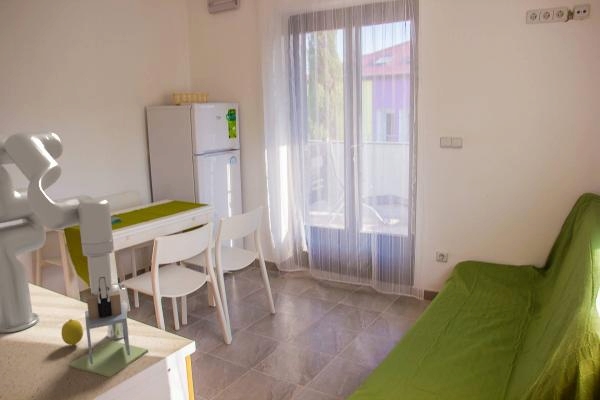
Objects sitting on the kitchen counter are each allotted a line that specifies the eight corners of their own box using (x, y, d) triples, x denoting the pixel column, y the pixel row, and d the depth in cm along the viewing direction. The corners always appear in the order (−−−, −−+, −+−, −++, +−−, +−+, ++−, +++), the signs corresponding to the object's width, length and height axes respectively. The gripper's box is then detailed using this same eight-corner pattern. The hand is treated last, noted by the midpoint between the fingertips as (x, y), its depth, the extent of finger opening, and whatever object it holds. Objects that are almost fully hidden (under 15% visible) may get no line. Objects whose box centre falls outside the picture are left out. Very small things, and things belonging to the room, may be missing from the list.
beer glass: (100, 338, 143) (95, 290, 140) (117, 328, 149) (112, 281, 146) (120, 341, 140) (114, 292, 137) (135, 331, 147) (131, 284, 144)
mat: (70, 365, 128) (69, 363, 128) (110, 342, 140) (110, 340, 140) (109, 377, 122) (109, 375, 122) (148, 351, 134) (148, 349, 134)
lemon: (76, 350, 136) (73, 324, 134) (58, 349, 137) (55, 323, 135) (88, 341, 141) (85, 315, 139) (71, 340, 142) (68, 314, 140)
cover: (88, 347, 133) (82, 292, 130) (126, 339, 137) (120, 285, 134) (90, 364, 124) (83, 305, 121) (130, 355, 128) (124, 298, 125)
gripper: (81, 241, 131) (88, 305, 134) (83, 257, 116) (91, 329, 120) (111, 237, 134) (117, 300, 137) (116, 253, 119) (123, 322, 123)
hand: (105, 312), depth 128 cm, fingers closed on cover, 3 cm apart
